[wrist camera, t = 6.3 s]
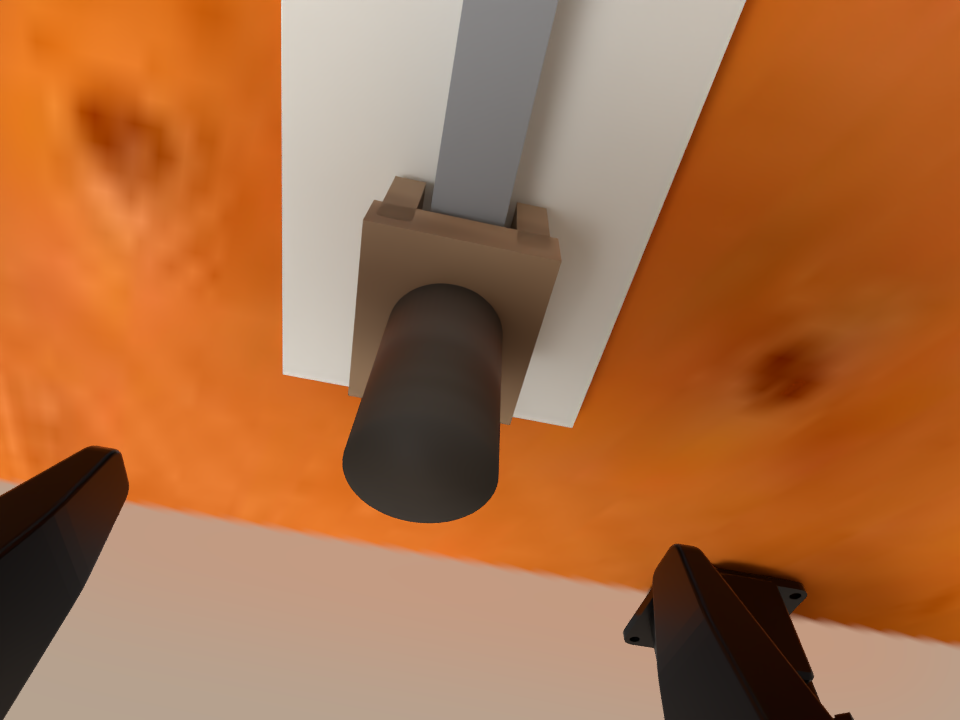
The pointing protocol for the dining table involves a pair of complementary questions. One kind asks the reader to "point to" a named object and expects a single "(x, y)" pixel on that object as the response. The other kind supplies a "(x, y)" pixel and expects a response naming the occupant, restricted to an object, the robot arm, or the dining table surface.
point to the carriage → (441, 351)
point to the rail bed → (562, 164)
